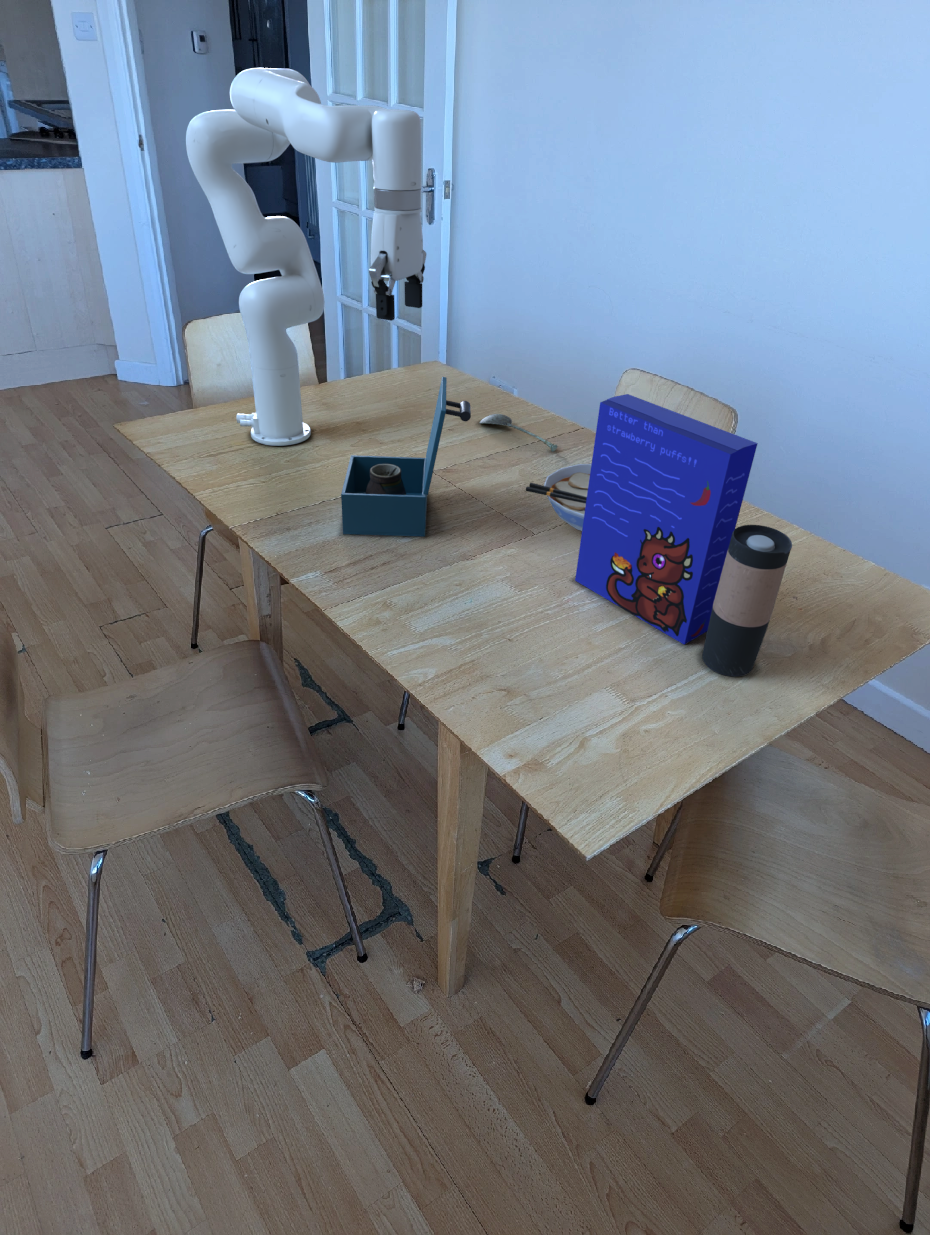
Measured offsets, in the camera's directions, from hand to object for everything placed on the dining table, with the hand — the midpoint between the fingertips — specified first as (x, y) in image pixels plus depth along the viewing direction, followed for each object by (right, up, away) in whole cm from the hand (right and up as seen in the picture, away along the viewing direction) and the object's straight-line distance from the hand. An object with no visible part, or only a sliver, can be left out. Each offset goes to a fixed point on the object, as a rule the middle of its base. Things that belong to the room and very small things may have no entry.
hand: (399, 312), depth 140 cm
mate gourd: (-3, -33, +9) cm, 34 cm away
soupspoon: (+23, -12, +42) cm, 49 cm away
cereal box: (+38, -50, -12) cm, 64 cm away
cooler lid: (+6, -20, +1) cm, 21 cm away
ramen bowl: (+36, -36, +9) cm, 51 cm away
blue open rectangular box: (-3, -33, +9) cm, 34 cm away
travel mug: (+48, -58, -23) cm, 79 cm away
